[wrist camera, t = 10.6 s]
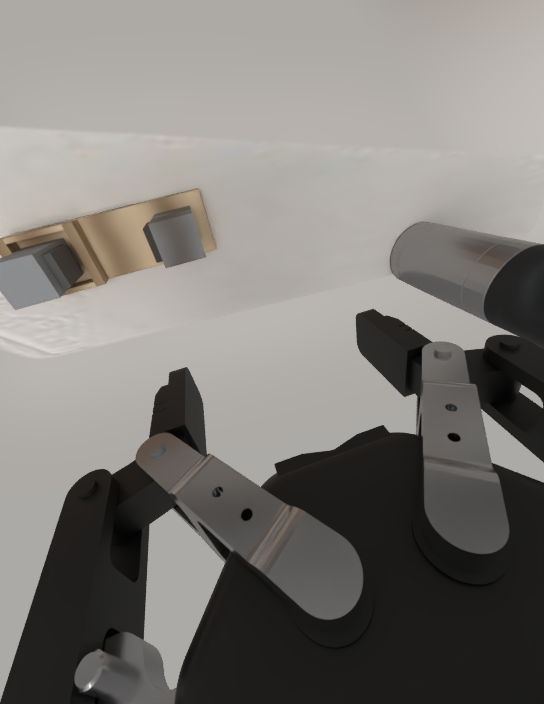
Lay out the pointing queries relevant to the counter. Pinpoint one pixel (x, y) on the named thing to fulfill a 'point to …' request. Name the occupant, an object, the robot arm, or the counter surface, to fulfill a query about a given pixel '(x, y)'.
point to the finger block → (38, 273)
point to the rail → (127, 238)
